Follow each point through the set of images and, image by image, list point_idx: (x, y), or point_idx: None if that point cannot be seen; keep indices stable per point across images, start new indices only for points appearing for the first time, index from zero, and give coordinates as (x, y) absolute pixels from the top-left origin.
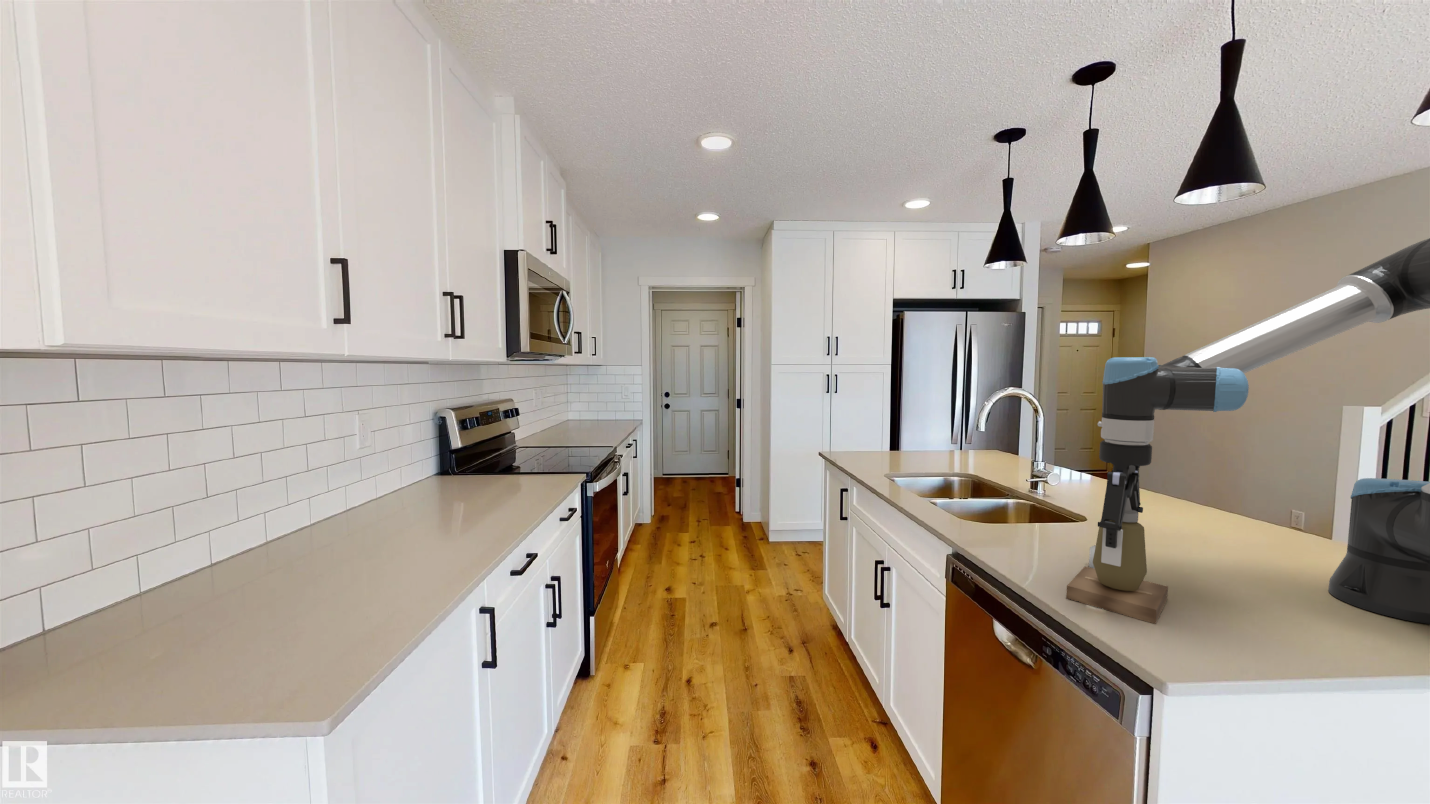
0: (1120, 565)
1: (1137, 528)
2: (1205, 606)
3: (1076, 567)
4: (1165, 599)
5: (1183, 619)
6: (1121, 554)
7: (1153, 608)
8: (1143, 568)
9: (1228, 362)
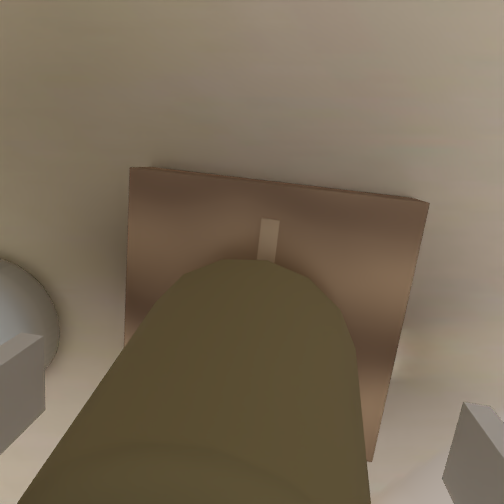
0: (478, 405)
1: None
2: (126, 55)
3: (57, 412)
4: (195, 173)
5: (306, 120)
6: (499, 452)
7: (419, 212)
8: (290, 282)
9: None
